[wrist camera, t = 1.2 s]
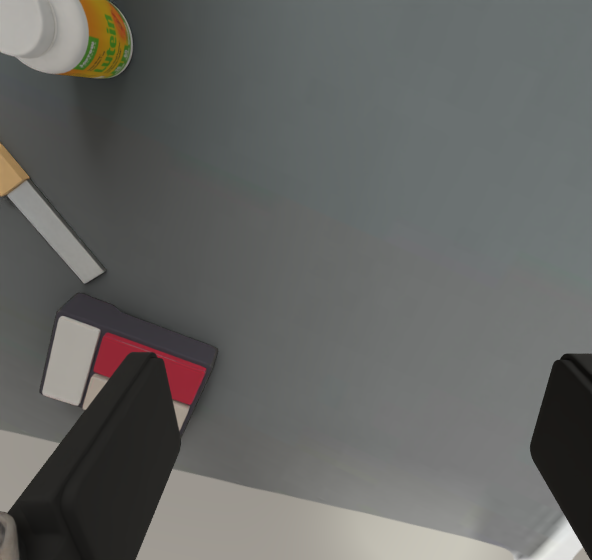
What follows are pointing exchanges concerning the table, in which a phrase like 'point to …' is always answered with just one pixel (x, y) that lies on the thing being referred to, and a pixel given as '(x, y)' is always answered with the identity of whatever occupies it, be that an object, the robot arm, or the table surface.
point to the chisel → (46, 219)
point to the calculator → (119, 355)
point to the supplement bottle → (66, 36)
